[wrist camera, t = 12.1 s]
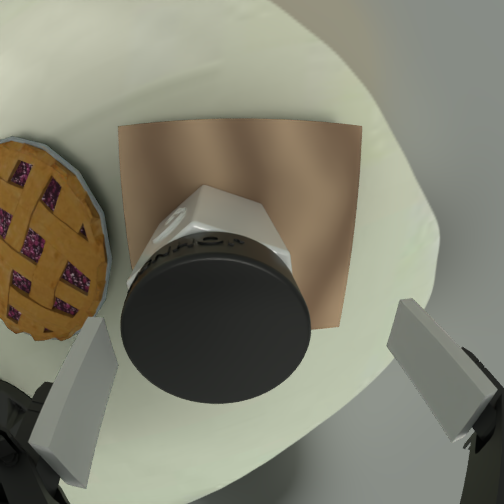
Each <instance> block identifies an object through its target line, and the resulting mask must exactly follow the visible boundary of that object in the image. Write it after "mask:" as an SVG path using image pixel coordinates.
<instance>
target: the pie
mask: <svg viewBox="0 0 504 504" xmlns="http://www.w3.org/2000/svg"><path fill="white" fill-rule="evenodd" d="M111 264H112V255H111V250H110V245H109V239H108V234H107V228H106V222H105V216H104V212H103V210H102V209H101V207H100V206H99V204H98V202H97V201H96V199H95V197H94V196H93V194H92V192H91V191H90V189H89V187H88V186H87V184H86V182H85V180H84V179H83V177H82V175H81V174H80V172H79V171H78V170H77V169H76V168H74V167H73V166H72V165H71V164H69V163H68V162H67V161H66V160H64V159H63V158H62V157H61V156H59V155H58V154H57V153H56V152H54V151H53V150H52V149H51V148H49V147H48V146H47V145H46V144H42V143H38V142H34V141H30V140H26V139H22V138H18V137H13V136H11V137H8V138H5V139H2V140H0V318H1V319H2V320H3V321H4V323H5V325H6V326H7V328H8V329H10V330H11V331H13V332H14V333H15V334H17V333H21V332H24V333H26V334H28V335H31V336H32V337H33V339H34V340H35V341H42V340H48V339H55V340H60V341H63V340H66V339H69V338H70V337H71V336H73V335H75V334H77V333H79V332H80V330H81V328H82V327H83V325H84V323H85V321H86V319H87V318H88V317H95V316H96V314H97V313H98V311H99V310H100V308H101V306H102V305H103V303H104V301H105V300H106V295H107V288H108V282H109V275H110V270H111Z"/></svg>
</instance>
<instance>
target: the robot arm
mask: <svg viewBox="0 0 504 504" xmlns="http://www.w3.org/2000/svg"><path fill="white" fill-rule="evenodd" d="M387 347H388V349H389V350H390V352H391V353H392V354H393V356H394V357H395V358H396V360H397V361H398V363H399V364H400V366H401V367H402V369H403V370H404V371H405V373H406V374H407V376H408V377H409V378H410V380H411V382H412V383H413V385H414V386H415V387H416V389H417V390H418V392H419V393H420V395H421V396H422V398H423V399H424V401H425V402H426V404H427V405H428V407H429V408H430V410H431V411H432V413H433V415H434V416H435V418H436V419H437V421H438V422H439V424H440V425H441V427H442V428H443V430H444V431H445V433H446V435H447V436H448V438H449V439H450V441H451V442H452V443H453V442H455V441H457V440H458V439H461V438H462V437H464V436H465V435H466V434H467V433H468V432H469V430H470V429H471V428H473V429H474V430H475V432H474V433H473V434H472V435H471V437H470V438H469V439H468V440H467V442H466V443H465V444H464V446H463V448H464V449H465V448H466V447H467V446H468V444H469V443H470V442H471V446H470V447H469V450H470V454H469V460H468V466H467V472H466V478H465V483H464V488H463V492H462V497H461V501H460V504H504V388H503V387H502V386H501V385H500V383H499V382H498V381H497V380H496V379H495V378H494V376H493V375H492V374H491V373H490V372H489V371H488V370H487V369H486V368H484V365H483V364H482V363H481V362H479V360H478V359H477V358H476V357H475V356H474V354H473V353H471V352H470V351H468V350H467V349H465V348H464V347H462V348H460V346H459V345H458V344H457V343H456V342H455V341H454V340H453V339H452V338H451V337H450V336H449V335H448V334H447V333H446V332H445V331H444V330H443V329H442V328H441V327H440V326H439V325H438V323H437V322H436V321H435V320H434V319H433V318H432V317H431V316H430V315H429V314H428V313H427V312H426V311H425V310H424V309H423V308H422V307H421V306H420V305H419V304H418V303H417V302H416V301H415V300H414V299H413V298H410V299H402V300H400V301H399V304H398V308H397V312H396V316H395V319H394V323H393V326H392V329H391V333H390V336H389V339H388V343H387ZM117 369H118V363H117V360H116V357H115V353H114V350H113V347H112V344H111V341H110V338H109V334H108V331H107V327H106V324H105V320H104V317H88V318H87V319H86V321H85V323H84V325H83V327H82V328H81V330H80V332H79V334H78V336H77V338H76V340H75V341H74V343H73V345H72V347H71V349H70V351H69V353H68V355H67V357H66V359H65V361H64V363H63V365H62V367H61V369H60V371H59V373H58V375H57V377H56V379H55V381H54V383H50V382H44V383H43V384H42V385H41V386H40V387H39V388H38V389H37V390H36V392H35V394H34V396H33V398H32V400H31V399H30V398H29V397H28V396H27V395H25V394H24V393H23V392H21V391H20V390H18V389H17V388H15V387H13V386H12V385H10V384H8V383H6V382H3V381H1V380H0V504H70V503H69V501H68V499H67V497H66V496H65V494H64V492H63V490H62V488H61V487H60V486H59V485H58V484H59V480H60V478H61V479H62V480H63V481H64V482H65V483H67V484H68V485H72V486H76V487H80V488H85V489H86V488H87V483H88V478H89V474H90V469H91V464H92V460H93V456H94V451H95V447H96V443H97V439H98V435H99V431H100V427H101V423H102V420H103V416H104V412H105V409H106V405H107V402H108V398H109V395H110V391H111V388H112V385H113V381H114V378H115V375H116V372H117Z"/></svg>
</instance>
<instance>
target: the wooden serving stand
mask: <svg viewBox="0 0 504 504" xmlns="http://www.w3.org/2000/svg"><path fill="white" fill-rule="evenodd" d="M118 137H119V159H120V174H121V187H122V198H123V208H124V217H125V225H126V233H127V240H128V247H129V254H130V261H131V267H132V271H133V269H134V267H135V265H136V264H137V262H138V260H139V258H140V256H141V255H142V253H143V251H144V249H145V248H146V246H147V244H148V242H149V241H150V239H151V237H152V235H153V234H154V232H155V230H156V229H157V227H158V225H159V224H160V223H161V222H162V221H163V220H164V219H165V218H166V217H167V216H168V215H169V214H171V213H172V212H173V211H174V210H175V209H176V208H177V207H178V206H179V205H180V204H182V203H183V202H184V201H185V200H186V199H187V198H188V197H189V196H191V195H192V194H193V193H194V192H195V191H196V190H197V189H198V188H200V187H201V186H202V185H207V186H210V187H213V188H216V189H219V190H222V191H225V192H228V193H231V194H234V195H237V196H240V197H243V198H246V199H249V200H252V201H255V202H257V203H260V204H262V205H263V207H264V208H265V210H266V212H267V214H268V215H269V217H270V219H271V221H272V222H273V224H274V226H275V228H276V229H277V231H278V233H279V235H280V236H281V238H282V240H283V242H284V243H285V245H286V247H287V249H288V251H289V252H290V256H291V265H292V274H293V277H294V279H295V281H296V283H297V285H298V288H299V290H300V292H301V294H302V296H303V298H304V300H305V302H306V304H307V307H308V310H309V314H310V319H311V330H313V329H323V328H332V327H339V324H340V319H341V313H342V308H343V302H344V296H345V291H346V284H347V278H348V272H349V265H350V258H351V251H352V243H353V235H354V227H355V218H356V209H357V198H358V187H359V174H360V160H361V141H362V126H357V125H348V124H339V123H329V122H317V121H303V120H285V119H198V120H179V121H165V122H154V123H143V124H134V125H126V126H118Z"/></svg>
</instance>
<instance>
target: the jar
mask: <svg viewBox="0 0 504 504" xmlns="http://www.w3.org/2000/svg"><path fill="white" fill-rule="evenodd" d="M127 287H128V292H127V293H128V294H127V297H126V300H125V302H124V306H123V310H122V314H121V337H122V341H123V345H124V348H125V350H126V352H127V354H128V357H129V358H130V360H131V361H132V363H133V365H134V366H135V367H136V368H137V370H138V371H139V372H140V373H141V374H142V375H143V376H144V377H145V378H146V379H147V380H148V381H150V382H151V383H152V384H154V385H155V386H157V387H158V388H160V389H162V390H163V391H165V392H167V393H169V394H172V395H174V396H176V397H179V398H182V399H186V400H189V401H194V402H200V403H209V404H224V403H234V402H239V401H244V400H248V399H251V398H254V397H257V396H260V395H262V394H264V393H266V392H268V391H270V390H272V389H273V388H275V387H277V386H278V385H280V384H281V383H282V382H283V381H285V380H286V379H287V378H288V377H289V376H290V375H291V374H292V373H293V372H294V371H295V370H296V368H297V367H298V366H299V364H300V363H301V361H302V359H303V358H304V356H305V353H306V351H307V348H308V345H309V342H310V337H311V319H310V314H309V310H308V307H307V304H306V302H305V300H304V298H303V296H302V294H301V292H300V290H299V288H298V285H297V283H296V281H295V279H294V277H293V274H292V265H291V256H290V252H289V251H288V249H287V247H286V245H285V243H284V242H283V240H282V238H281V236H280V235H279V233H278V231H277V229H276V228H275V226H274V224H273V222H272V221H271V219H270V217H269V215H268V214H267V212H266V210H265V208H264V207H263V205H262V204H260V203H257V202H255V201H252V200H249V199H246V198H243V197H240V196H237V195H234V194H231V193H228V192H225V191H222V190H219V189H216V188H213V187H210V186H207V185H202V186H201V187H200V188H198V189H197V190H196V191H195V192H194V193H193V194H192V195H191V196H189V197H188V198H187V199H186V200H185V201H184V202H183V203H182V204H180V205H179V206H178V207H177V208H176V209H175V210H174V211H173V212H172V213H171V214H169V215H168V216H167V217H166V218H165V219H164V220H163V221H162V222H161V223H160V224H159V225H158V227H157V229H156V230H155V232H154V234H153V235H152V237H151V239H150V241H149V242H148V244H147V246H146V248H145V249H144V251H143V253H142V255H141V256H140V258H139V260H138V262H137V264H136V265H135V267H134V269H133V271H132V273H131V274H130V276H129V278H128V280H127Z"/></svg>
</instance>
